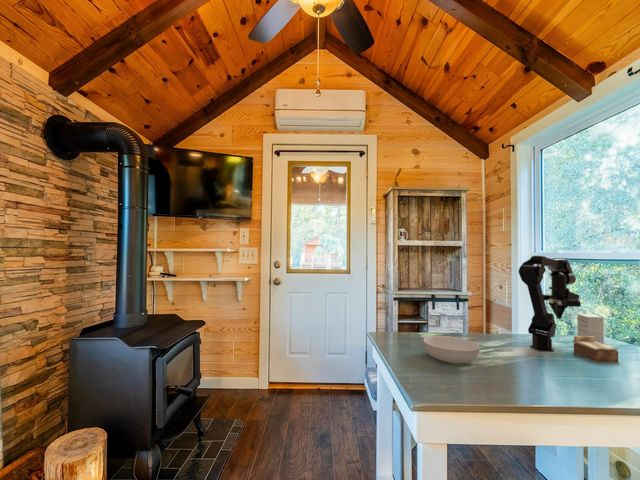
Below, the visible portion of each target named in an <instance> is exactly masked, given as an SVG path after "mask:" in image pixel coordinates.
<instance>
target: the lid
mask: <svg viewBox="0 0 640 480" xmlns="http://www.w3.org/2000/svg"><path fill="white" fill-rule="evenodd" d="M572 343H573V344H574V343H577V344H580V345H583V346H585V347H588V348H591V349H593V350H616V351H618V348H617V347H614V346H612V345H608V344H605V343H599V342H596V341H595V337H593V336H578V335H574V336H573V340H572Z"/></svg>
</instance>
